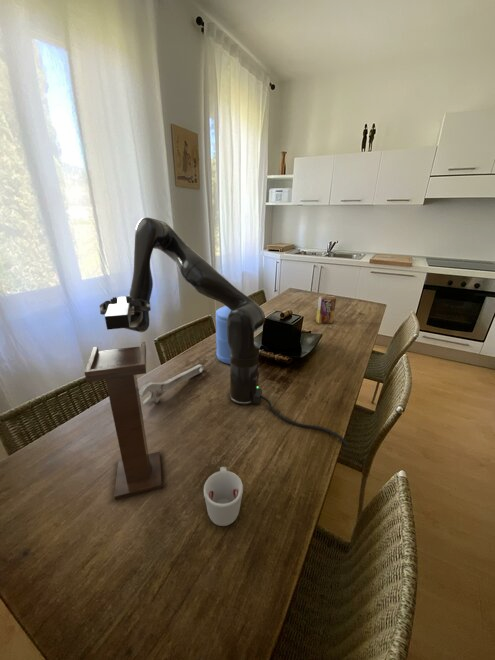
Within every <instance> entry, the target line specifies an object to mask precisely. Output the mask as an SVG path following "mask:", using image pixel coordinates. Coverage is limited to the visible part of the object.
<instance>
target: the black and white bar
mask: <svg viewBox="0 0 495 660" xmlns="http://www.w3.org/2000/svg"><path fill="white" fill-rule="evenodd" d="M130 320H131V310H130V304H129V303H126V296H118V297H117V303H116V304H109V306H108V309H107V311H106V314H104V321H105V325H106V330H108V331H109V330H119V329H125V328H129V327H130Z"/></svg>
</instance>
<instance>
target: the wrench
mask: <svg viewBox="0 0 495 660" xmlns="http://www.w3.org/2000/svg"><path fill="white" fill-rule="evenodd" d="M204 368H205V367H204V365H203V364H200V363H199V364H197V365H194V366H192V367H191V368H189V369H187V370H185V371H183V372H181V373H179V374H177V375H174V376H172V377H171V378H169V379H166V380H165V381H160V382H151V381H149V382H147V383H145V384H143V386H141V388H139V389H140V390H139V396H140V398H143V397H144V396H146V395H147V393H148V392H149V395H148V396H147V397H145V399H144V400H143V401H142V404H143V405H145V406H146V405H151V404H153V403H156V404H158V403H159V401H160V399H161V398H162V396H163V395H164V394H166V392H167V391H169V390H170V389H172V388H174V387H177V386H178V385H180V384H182V383H184V382H186V381H187V380H189V379H192V378H194V377H195V376H197V375H199V374H201V373H203V372H204V370H205V369H204Z"/></svg>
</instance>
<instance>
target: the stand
mask: <svg viewBox="0 0 495 660" xmlns="http://www.w3.org/2000/svg"><path fill="white" fill-rule="evenodd" d="M146 345H147V344H146V341H141V342H140V346H139V345H138V346H132V347H123V348H115V349H114V348H113V349H105V350H99V346H93V347H92V350H91V353H90V356H89V358H88V361H87V364H86V366H85V369H84V371H83V372H84V376H85V377H84V378H85V380H86V382H87V383H88V382H95V381H103V380H105V384H106V389H107V394H108V399H109V403H110V407H111V413H112V416H113V422H114V427H115V432H116V438H117V442H118V448H119V451H120V456H121V457H120V458H121V459H120V460H118V461H117V467H116V478H115V486H114V500H119V499H123V498H127V497H131V496H135V495H139V494H142V493H146V492H150V491H154V490H158V489H162V487H163V483H162V467H161V465H162V464H161V452H160V451H156V452H152V453H149V447H148V443H147V435H146V430H145V423H144V417H143V416H144V415H143V410H142V409H143V408H142V402H141V396H139V391H140V390H139V389H140V388H139V384H138V377H137V376H138V375H144V374H145V375H146V374H147V346H146Z"/></svg>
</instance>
